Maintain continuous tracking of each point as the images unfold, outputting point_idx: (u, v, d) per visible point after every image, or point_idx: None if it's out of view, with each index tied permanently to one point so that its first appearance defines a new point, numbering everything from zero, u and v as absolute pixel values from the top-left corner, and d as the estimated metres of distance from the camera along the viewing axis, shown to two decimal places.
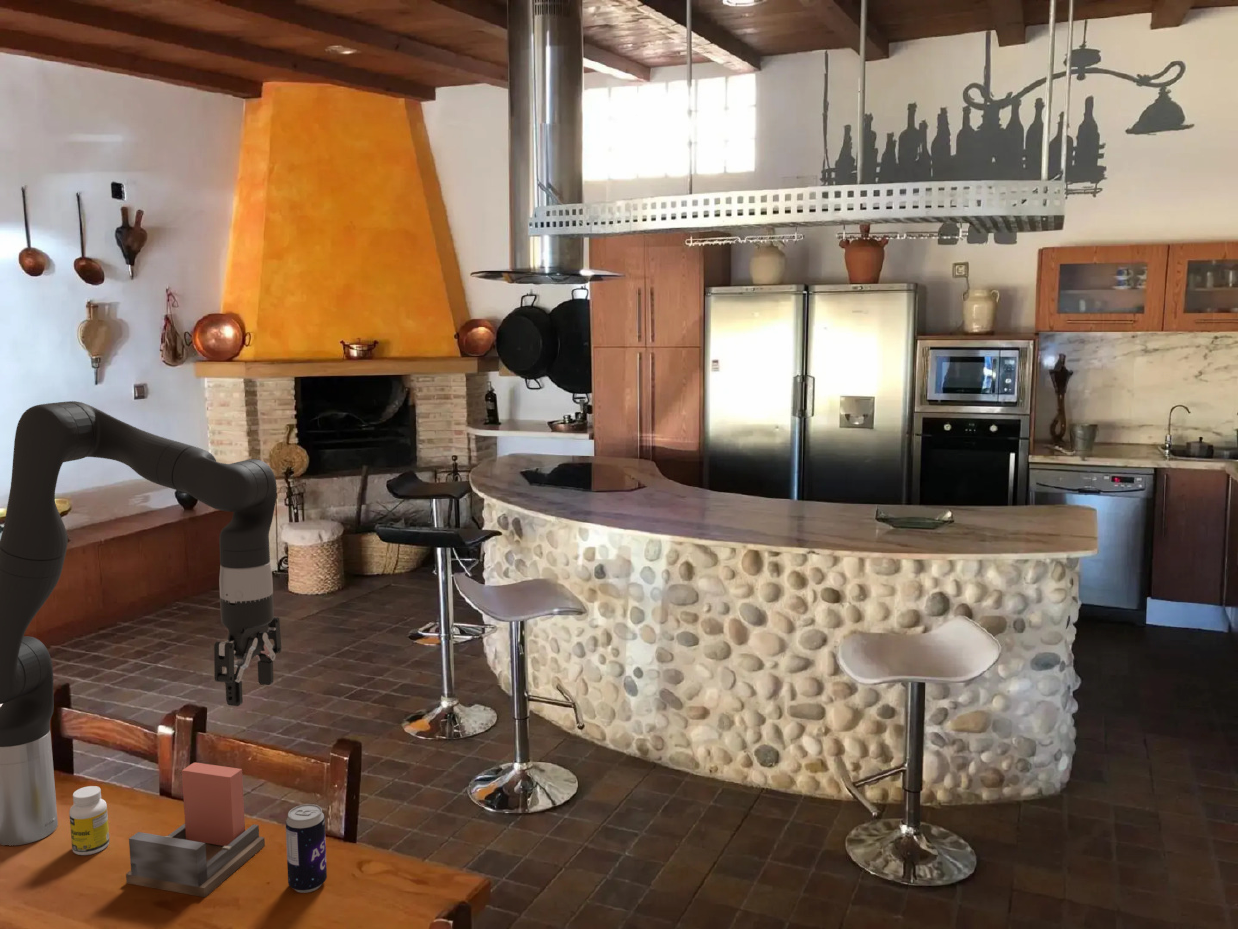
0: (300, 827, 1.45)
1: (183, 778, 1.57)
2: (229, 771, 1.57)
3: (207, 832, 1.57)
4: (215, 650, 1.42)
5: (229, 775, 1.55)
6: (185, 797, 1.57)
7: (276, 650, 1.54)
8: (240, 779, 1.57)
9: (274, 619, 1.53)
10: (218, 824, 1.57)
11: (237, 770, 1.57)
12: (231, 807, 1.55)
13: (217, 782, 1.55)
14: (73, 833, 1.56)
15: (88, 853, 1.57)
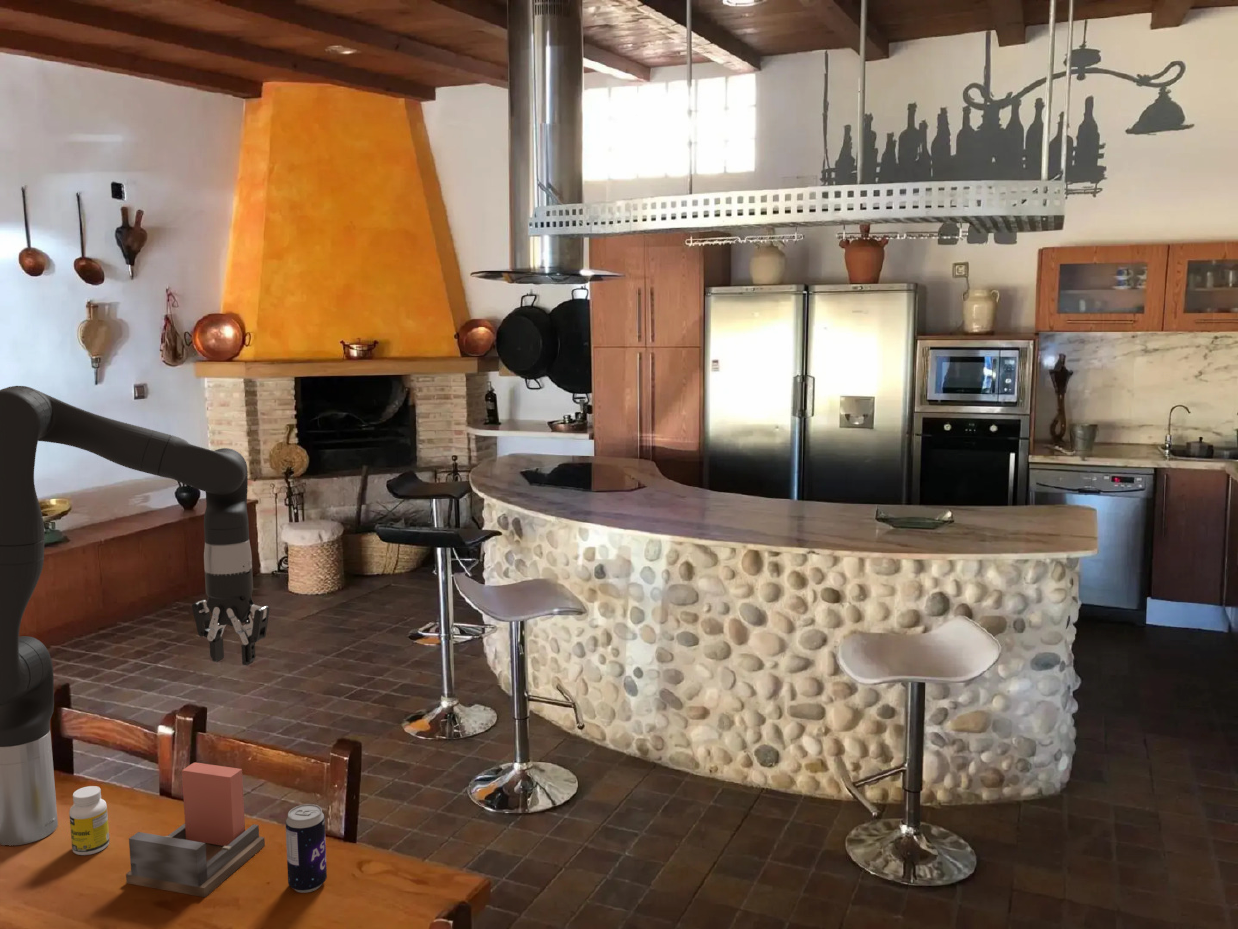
0: (300, 827, 1.45)
1: (183, 778, 1.57)
2: (229, 771, 1.57)
3: (207, 832, 1.57)
4: (261, 616, 1.64)
5: (229, 775, 1.55)
6: (185, 797, 1.57)
7: None
8: (240, 779, 1.57)
9: (204, 600, 1.68)
10: (218, 824, 1.57)
11: (237, 770, 1.57)
12: (231, 807, 1.55)
13: (217, 782, 1.55)
14: (73, 833, 1.56)
15: (88, 853, 1.57)
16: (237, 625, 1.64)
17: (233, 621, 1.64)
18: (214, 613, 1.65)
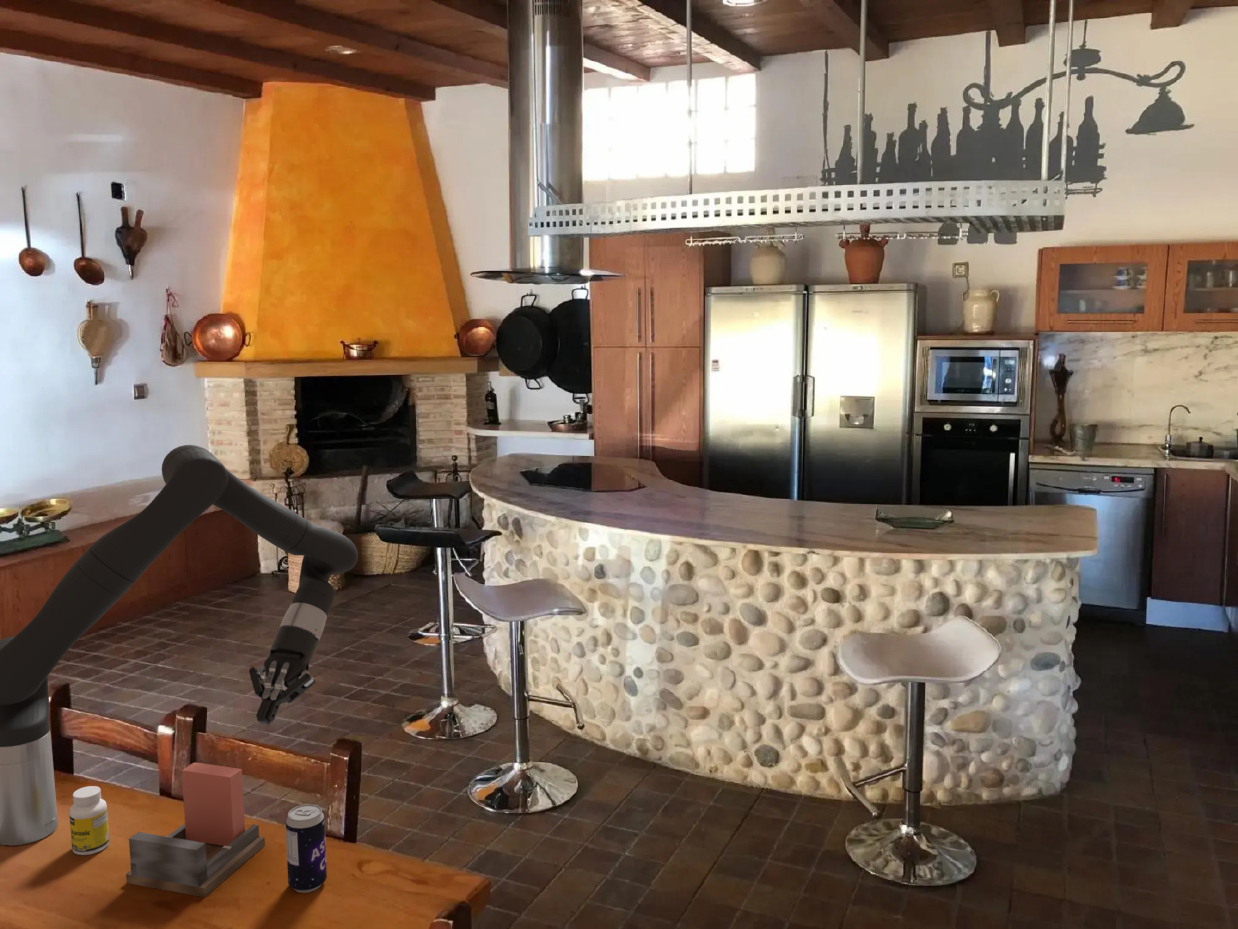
0: (300, 827, 1.45)
1: (183, 778, 1.57)
2: (229, 771, 1.57)
3: (207, 832, 1.57)
4: (305, 681, 1.72)
5: (229, 775, 1.55)
6: (185, 797, 1.57)
7: None
8: (240, 779, 1.57)
9: None
10: (218, 824, 1.57)
11: (237, 770, 1.57)
12: (231, 807, 1.55)
13: (217, 782, 1.55)
14: (73, 833, 1.56)
15: (88, 853, 1.57)
16: (281, 679, 1.72)
17: (281, 674, 1.73)
18: (271, 667, 1.74)
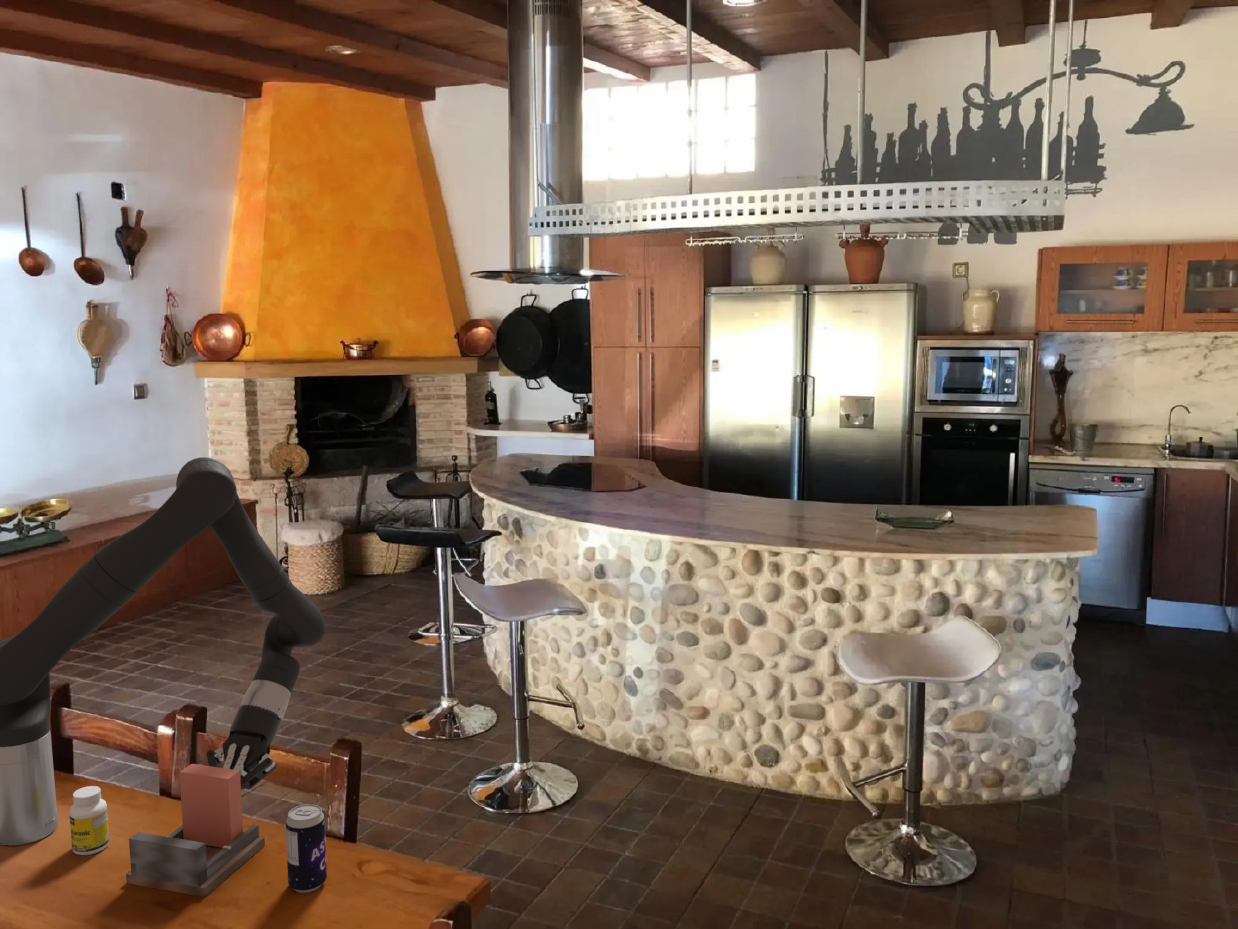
0: (300, 827, 1.45)
1: (181, 780, 1.56)
2: (227, 773, 1.56)
3: (204, 834, 1.57)
4: (266, 766, 1.62)
5: (226, 777, 1.55)
6: (183, 798, 1.57)
7: None
8: (238, 781, 1.57)
9: None
10: (216, 826, 1.56)
11: (235, 772, 1.57)
12: (229, 809, 1.55)
13: (215, 784, 1.55)
14: (73, 833, 1.56)
15: (88, 853, 1.57)
16: (240, 764, 1.62)
17: (240, 759, 1.63)
18: (230, 751, 1.64)
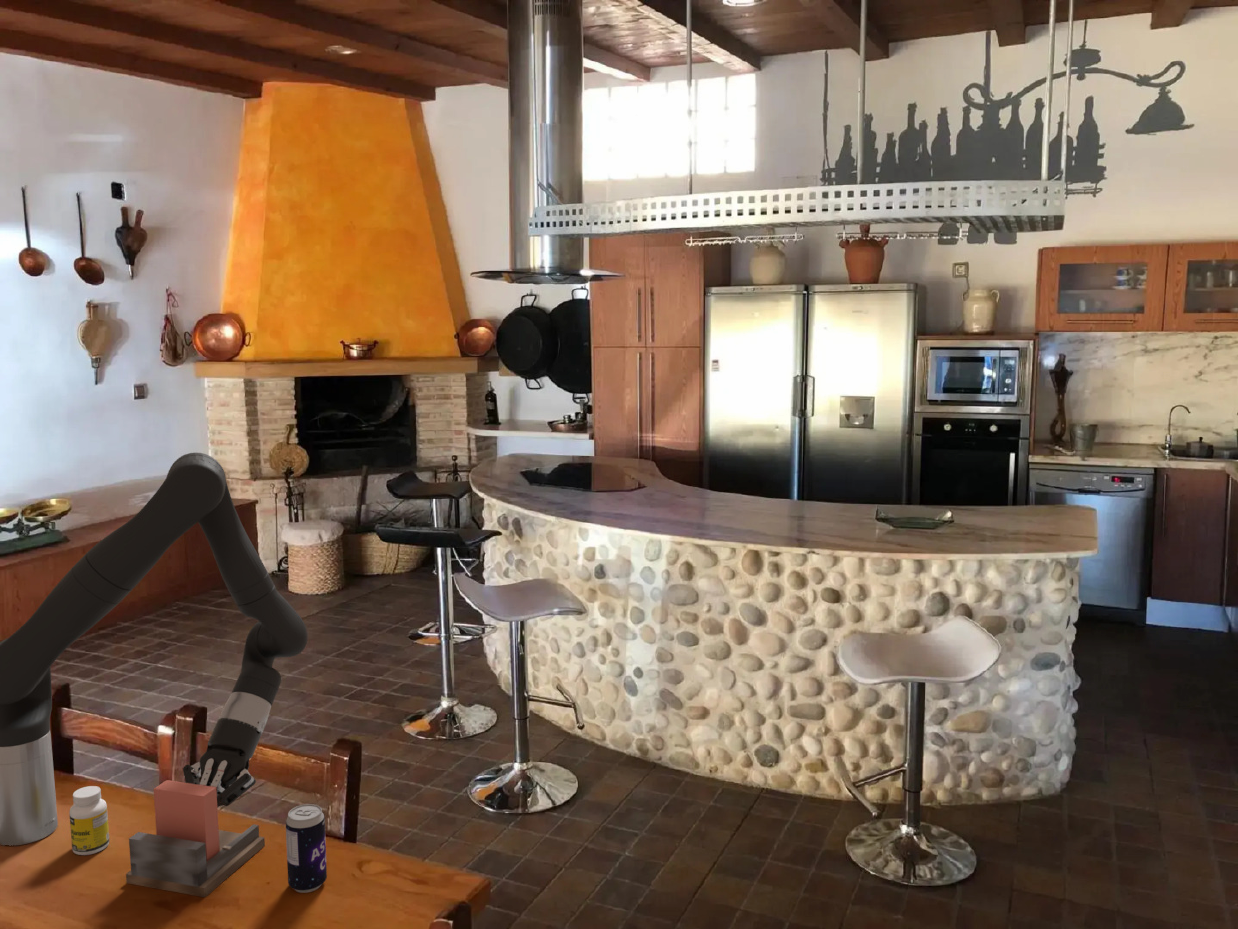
0: (300, 827, 1.45)
1: (155, 797, 1.51)
2: (203, 790, 1.50)
3: None
4: (244, 782, 1.57)
5: (202, 794, 1.49)
6: (157, 816, 1.51)
7: None
8: (215, 798, 1.51)
9: None
10: None
11: (211, 788, 1.51)
12: (204, 827, 1.49)
13: (190, 801, 1.49)
14: (73, 833, 1.56)
15: (88, 853, 1.57)
16: (217, 780, 1.57)
17: (217, 774, 1.57)
18: (207, 766, 1.58)
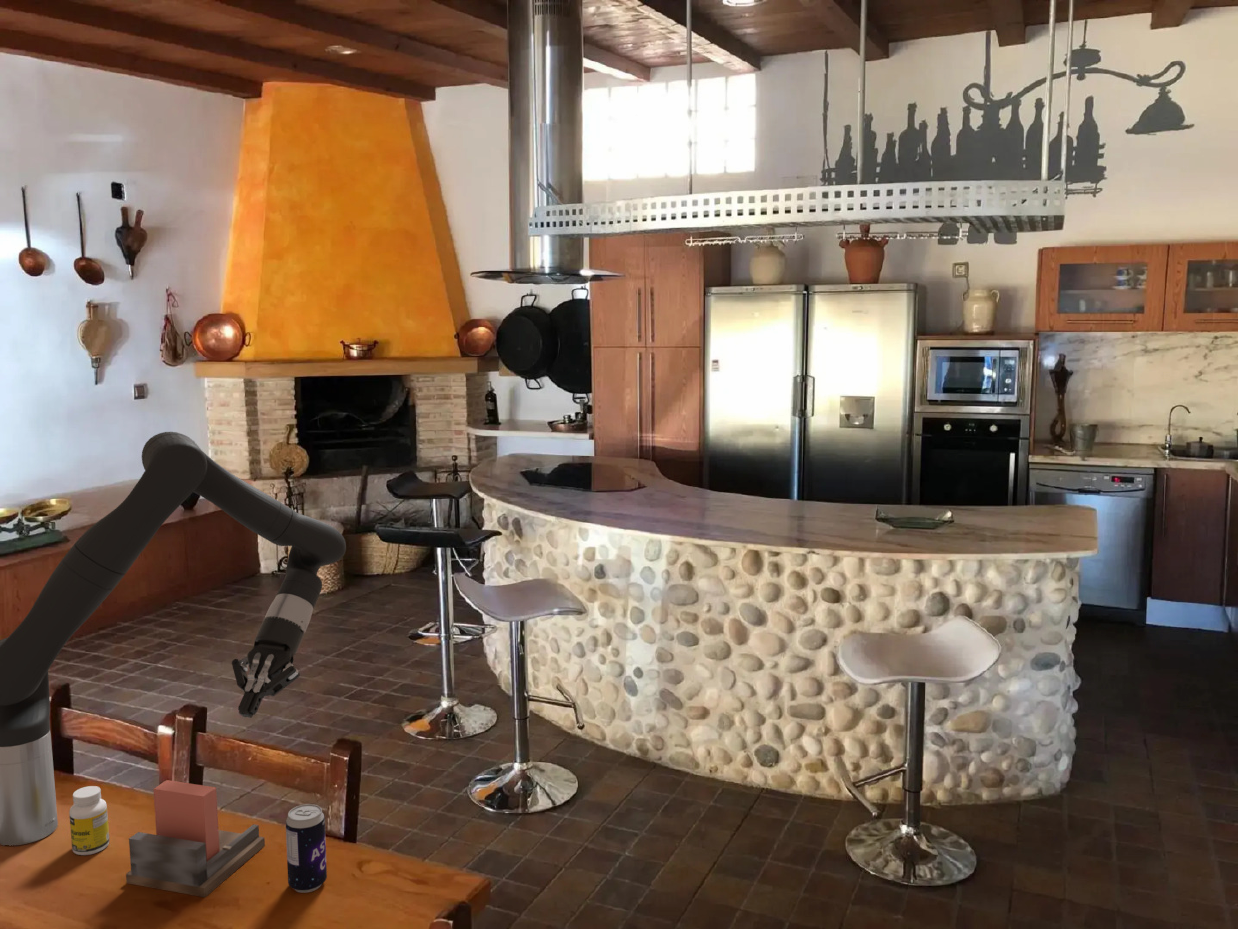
0: (300, 827, 1.45)
1: (155, 797, 1.51)
2: (202, 790, 1.50)
3: None
4: (290, 673, 1.67)
5: (202, 794, 1.49)
6: (157, 816, 1.51)
7: None
8: (214, 798, 1.51)
9: None
10: None
11: (211, 788, 1.51)
12: (204, 827, 1.49)
13: (190, 801, 1.49)
14: (73, 833, 1.56)
15: (88, 853, 1.57)
16: (264, 672, 1.68)
17: (265, 667, 1.68)
18: (254, 659, 1.69)
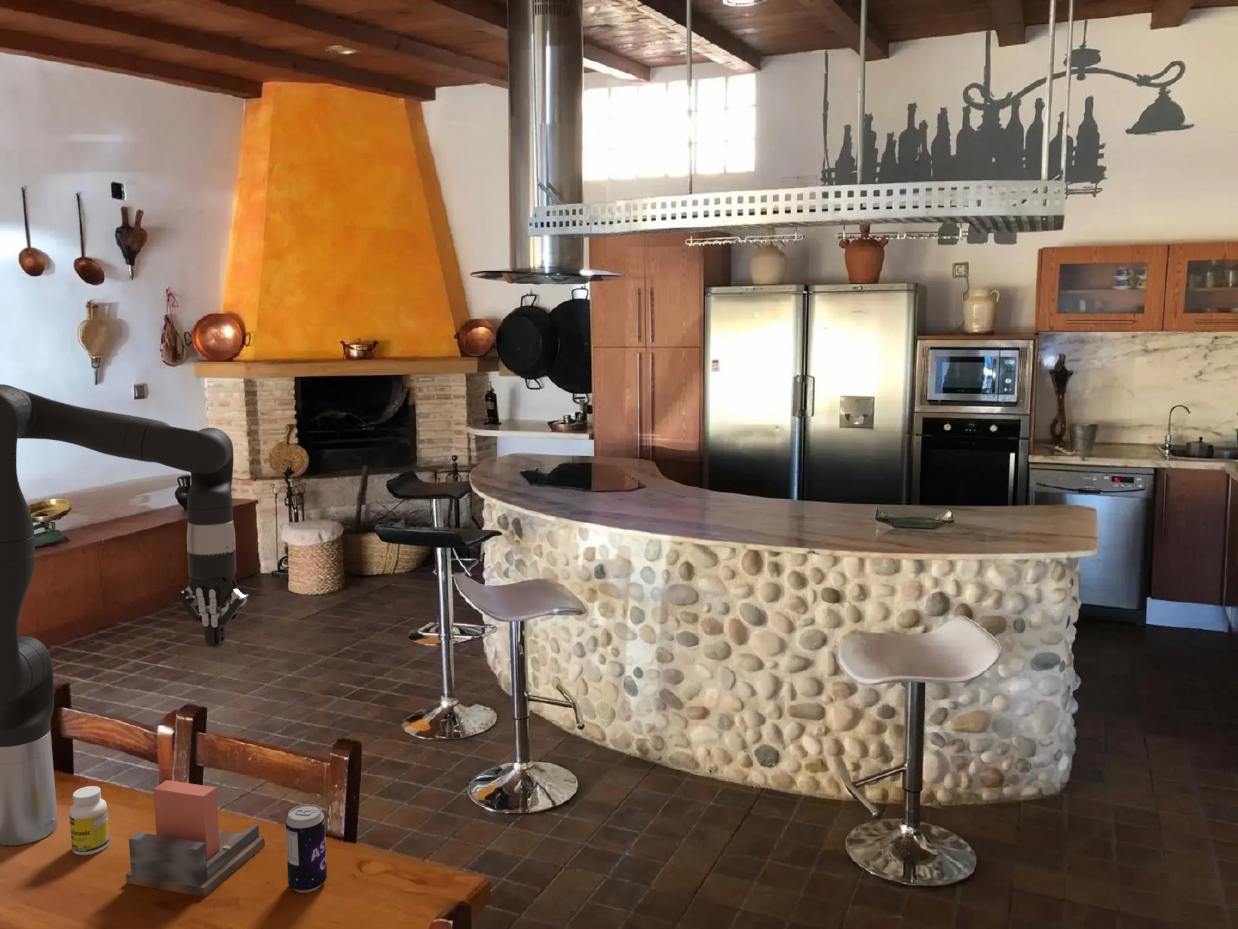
0: (300, 827, 1.45)
1: (155, 797, 1.51)
2: (202, 790, 1.50)
3: None
4: (239, 605, 1.63)
5: (202, 794, 1.49)
6: (157, 816, 1.51)
7: None
8: (214, 798, 1.51)
9: None
10: None
11: (211, 788, 1.51)
12: (204, 827, 1.49)
13: (190, 801, 1.49)
14: (73, 833, 1.56)
15: (88, 853, 1.57)
16: (213, 607, 1.63)
17: (211, 602, 1.63)
18: (198, 595, 1.63)
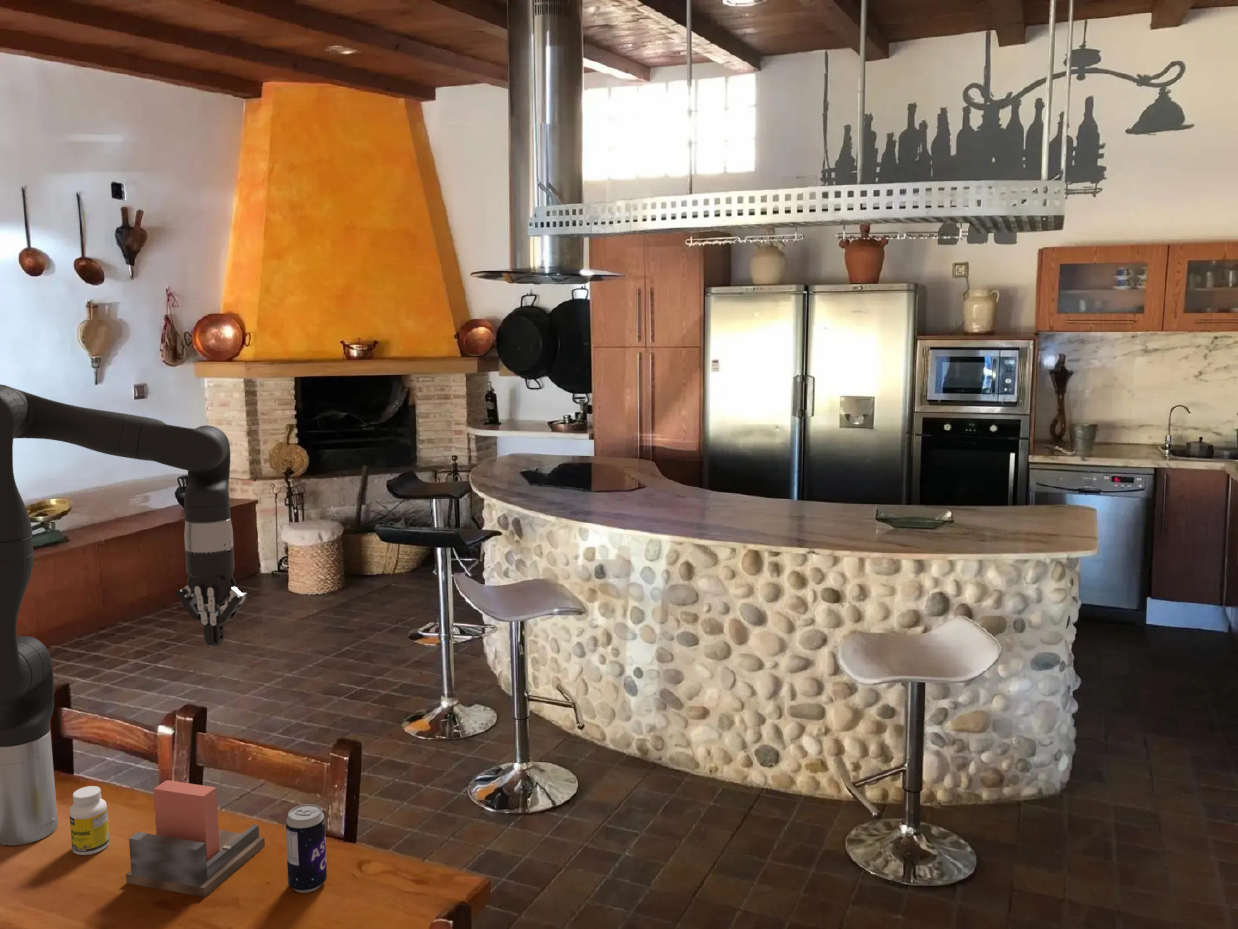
0: (300, 827, 1.45)
1: (155, 797, 1.51)
2: (202, 790, 1.50)
3: None
4: (237, 603, 1.62)
5: (202, 794, 1.49)
6: (157, 816, 1.51)
7: None
8: (214, 798, 1.51)
9: None
10: None
11: (211, 788, 1.51)
12: (204, 827, 1.49)
13: (190, 801, 1.49)
14: (73, 833, 1.56)
15: (88, 853, 1.57)
16: (212, 605, 1.63)
17: (210, 600, 1.63)
18: (196, 593, 1.63)
